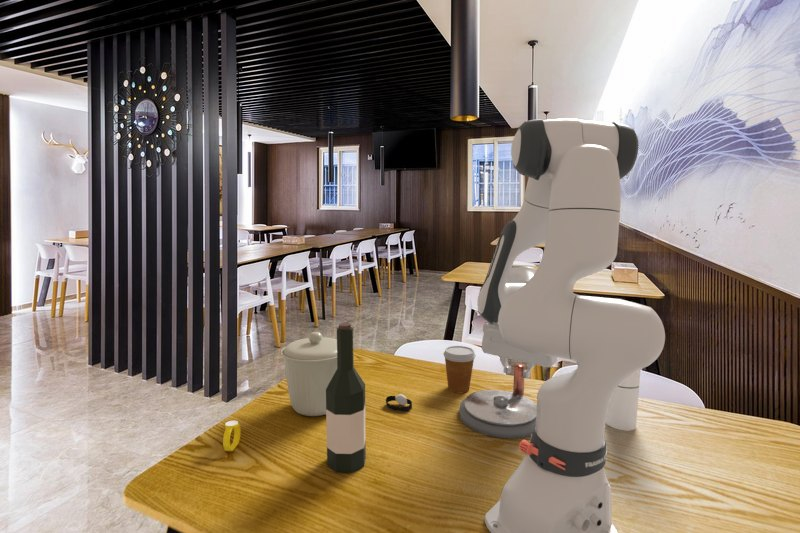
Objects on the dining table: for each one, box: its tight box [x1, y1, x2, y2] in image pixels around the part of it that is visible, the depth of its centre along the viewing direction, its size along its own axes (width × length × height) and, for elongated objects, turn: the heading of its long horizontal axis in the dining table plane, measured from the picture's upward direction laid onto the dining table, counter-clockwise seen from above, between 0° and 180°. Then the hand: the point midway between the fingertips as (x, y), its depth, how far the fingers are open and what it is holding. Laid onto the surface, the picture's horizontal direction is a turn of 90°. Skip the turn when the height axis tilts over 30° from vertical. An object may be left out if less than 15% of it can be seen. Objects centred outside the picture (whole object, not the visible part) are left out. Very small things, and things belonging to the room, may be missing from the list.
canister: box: [280, 331, 337, 417], centre depth 114 cm, size 18×18×21 cm
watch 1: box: [222, 420, 242, 452], centre depth 96 cm, size 6×3×6 cm, turn 177°
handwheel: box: [464, 363, 537, 427], centre depth 110 cm, size 19×18×10 cm
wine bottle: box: [325, 322, 367, 474], centre depth 89 cm, size 8×8×30 cm
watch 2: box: [385, 393, 413, 412], centre depth 116 cm, size 8×5×4 cm, turn 63°
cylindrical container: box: [605, 369, 642, 431], centre depth 106 cm, size 7×7×25 cm
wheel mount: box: [459, 398, 536, 440], centre depth 110 cm, size 21×21×2 cm
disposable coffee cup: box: [443, 345, 476, 394], centre depth 128 cm, size 10×10×12 cm
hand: (516, 375), depth 116 cm, fingers open, 4 cm apart
